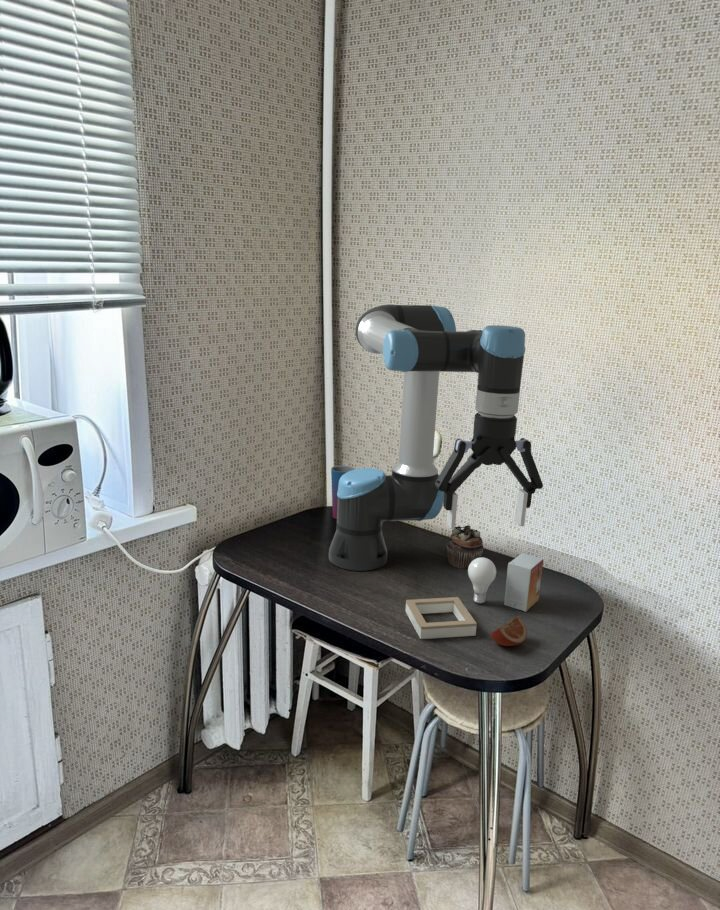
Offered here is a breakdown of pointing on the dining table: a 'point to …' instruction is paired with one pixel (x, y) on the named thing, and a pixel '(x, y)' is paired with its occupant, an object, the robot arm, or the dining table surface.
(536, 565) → the small box
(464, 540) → the cupcake
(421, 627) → the square frame
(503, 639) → the fruit slice
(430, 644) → the dining table surface
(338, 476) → the cup
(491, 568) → the lightbulb
